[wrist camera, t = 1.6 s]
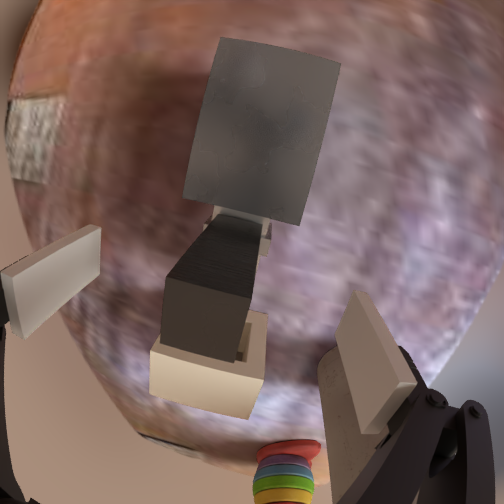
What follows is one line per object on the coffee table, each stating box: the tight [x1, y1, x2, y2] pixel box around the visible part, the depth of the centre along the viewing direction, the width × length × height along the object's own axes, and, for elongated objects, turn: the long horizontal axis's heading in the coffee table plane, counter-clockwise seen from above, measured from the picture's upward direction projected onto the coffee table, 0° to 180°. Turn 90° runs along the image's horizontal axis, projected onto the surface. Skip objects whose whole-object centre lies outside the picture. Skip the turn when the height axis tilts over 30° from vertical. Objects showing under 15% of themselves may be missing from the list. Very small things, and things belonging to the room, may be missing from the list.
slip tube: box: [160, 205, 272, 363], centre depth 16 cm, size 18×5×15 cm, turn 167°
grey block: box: [182, 37, 341, 226], centre depth 20 cm, size 10×7×10 cm
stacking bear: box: [253, 440, 321, 504], centre depth 31 cm, size 11×10×18 cm
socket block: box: [149, 310, 268, 420], centre depth 26 cm, size 6×9×10 cm, turn 77°
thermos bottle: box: [317, 346, 419, 504], centre depth 19 cm, size 8×8×28 cm
